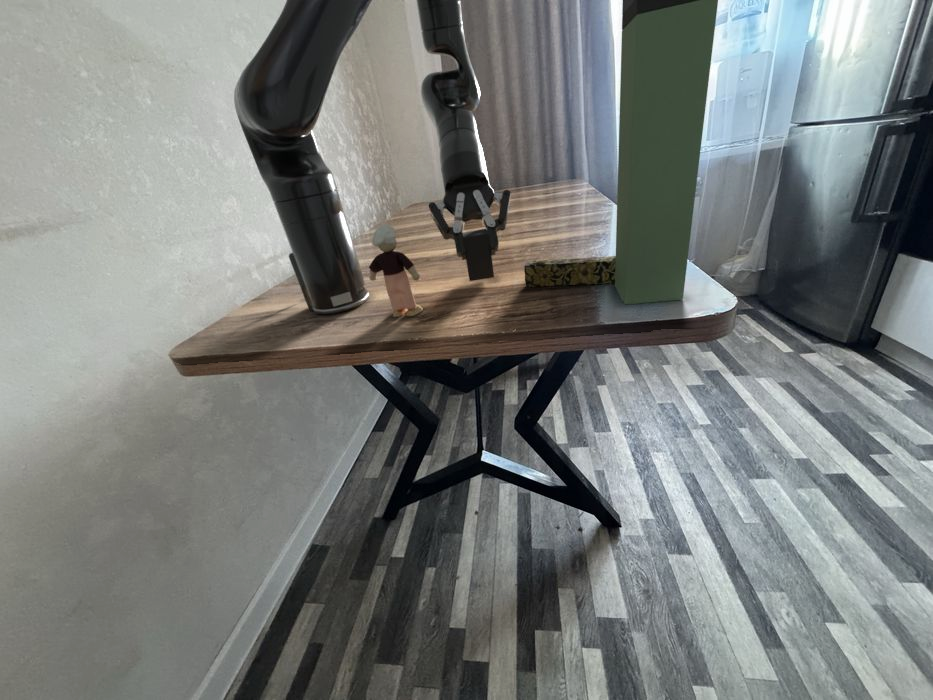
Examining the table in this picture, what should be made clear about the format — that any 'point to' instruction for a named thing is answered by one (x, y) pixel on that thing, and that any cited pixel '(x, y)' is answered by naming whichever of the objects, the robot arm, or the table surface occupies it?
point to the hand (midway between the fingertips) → (478, 254)
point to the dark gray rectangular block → (478, 254)
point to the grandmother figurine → (394, 272)
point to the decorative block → (570, 271)
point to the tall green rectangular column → (660, 142)
